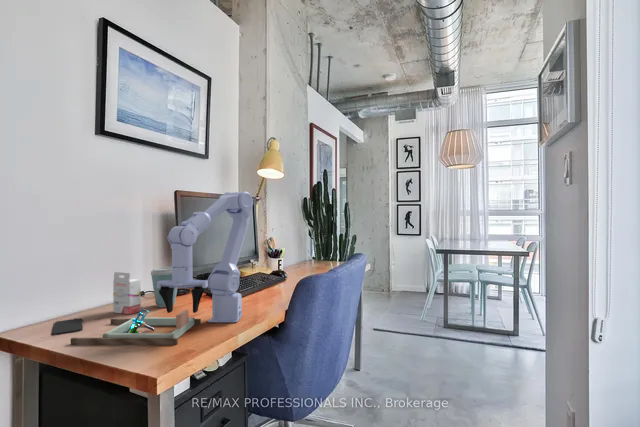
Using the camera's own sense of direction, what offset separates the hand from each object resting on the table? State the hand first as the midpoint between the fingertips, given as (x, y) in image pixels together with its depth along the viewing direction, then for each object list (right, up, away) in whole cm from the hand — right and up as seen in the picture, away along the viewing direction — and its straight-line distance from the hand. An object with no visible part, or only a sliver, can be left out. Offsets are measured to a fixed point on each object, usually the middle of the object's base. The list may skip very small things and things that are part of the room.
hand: (182, 311), depth 103 cm
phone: (-39, -7, +6) cm, 40 cm away
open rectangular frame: (-9, -6, 0) cm, 11 cm away
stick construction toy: (-12, -7, -1) cm, 14 cm away
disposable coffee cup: (-19, -7, +32) cm, 38 cm away
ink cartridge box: (-30, -7, +23) cm, 38 cm away
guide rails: (-12, -6, 0) cm, 14 cm away
